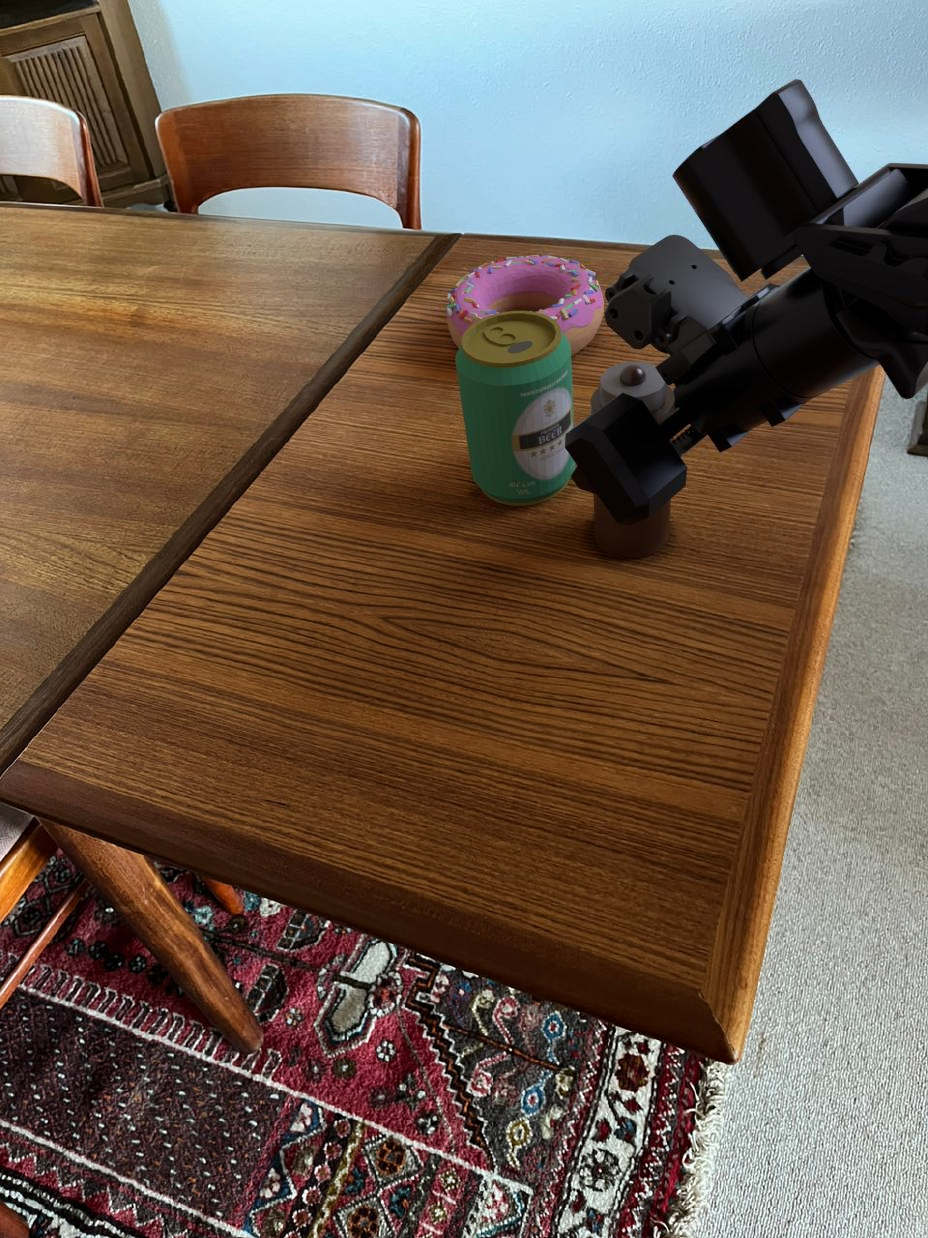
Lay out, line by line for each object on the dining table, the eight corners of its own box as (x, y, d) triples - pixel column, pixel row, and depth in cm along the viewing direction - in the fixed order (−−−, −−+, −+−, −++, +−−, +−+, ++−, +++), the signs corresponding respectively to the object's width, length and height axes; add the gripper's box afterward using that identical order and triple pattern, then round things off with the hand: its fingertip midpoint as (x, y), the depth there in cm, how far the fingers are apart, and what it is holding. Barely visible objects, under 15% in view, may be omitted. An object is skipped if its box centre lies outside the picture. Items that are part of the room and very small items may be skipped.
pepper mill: (667, 509, 67) (674, 340, 58) (671, 558, 64) (679, 387, 54) (594, 511, 68) (589, 345, 59) (594, 559, 65) (589, 392, 55)
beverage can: (512, 524, 68) (496, 382, 60) (453, 474, 73) (430, 336, 65) (597, 478, 71) (594, 335, 62) (534, 432, 76) (523, 294, 67)
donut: (624, 305, 88) (624, 253, 85) (573, 387, 80) (571, 334, 76) (485, 291, 93) (480, 242, 90) (424, 367, 85) (415, 316, 81)
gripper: (809, 141, 50) (640, 282, 64) (588, 286, 42) (450, 411, 56) (917, 315, 52) (729, 416, 66) (722, 488, 44) (555, 561, 58)
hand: (621, 445), depth 61 cm, fingers open, 9 cm apart
